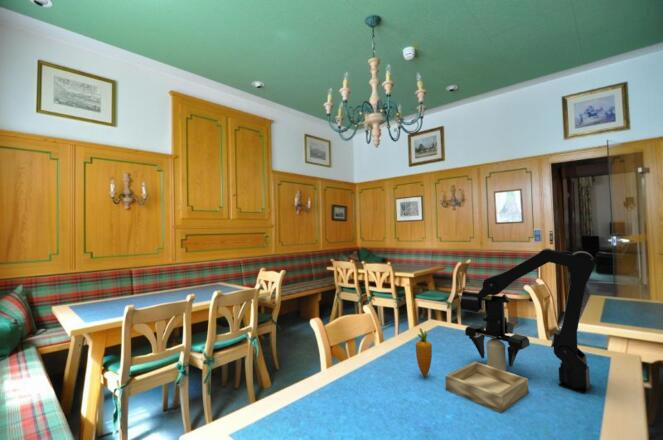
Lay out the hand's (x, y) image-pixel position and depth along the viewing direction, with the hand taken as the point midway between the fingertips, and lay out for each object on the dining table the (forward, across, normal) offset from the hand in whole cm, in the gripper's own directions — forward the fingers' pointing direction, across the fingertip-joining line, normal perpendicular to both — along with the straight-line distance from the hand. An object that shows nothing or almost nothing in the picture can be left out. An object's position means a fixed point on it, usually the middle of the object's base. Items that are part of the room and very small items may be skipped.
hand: (496, 362), depth 109 cm
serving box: (+2, -5, +16) cm, 17 cm away
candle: (+3, 0, 0) cm, 3 cm away
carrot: (+3, +12, +22) cm, 25 cm away
